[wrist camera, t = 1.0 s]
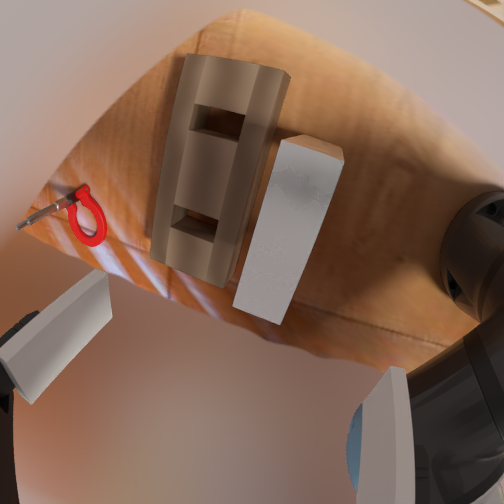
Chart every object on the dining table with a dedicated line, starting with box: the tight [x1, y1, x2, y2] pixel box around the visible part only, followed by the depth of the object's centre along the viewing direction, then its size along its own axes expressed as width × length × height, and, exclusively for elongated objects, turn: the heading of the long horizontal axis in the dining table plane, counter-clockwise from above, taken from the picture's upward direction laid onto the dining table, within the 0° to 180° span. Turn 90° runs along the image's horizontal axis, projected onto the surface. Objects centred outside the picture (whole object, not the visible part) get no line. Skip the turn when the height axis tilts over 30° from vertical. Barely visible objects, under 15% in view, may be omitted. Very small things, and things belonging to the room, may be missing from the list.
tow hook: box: [15, 185, 107, 247], centre depth 36 cm, size 8×13×9 cm
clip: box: [232, 134, 345, 325], centre depth 26 cm, size 4×13×13 cm, turn 164°
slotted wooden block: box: [150, 53, 291, 289], centre depth 31 cm, size 10×24×4 cm, turn 164°
